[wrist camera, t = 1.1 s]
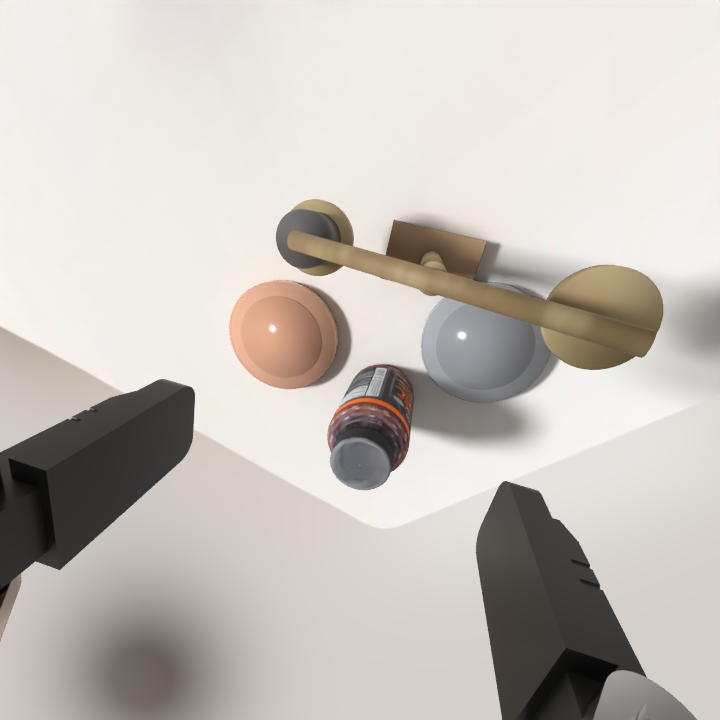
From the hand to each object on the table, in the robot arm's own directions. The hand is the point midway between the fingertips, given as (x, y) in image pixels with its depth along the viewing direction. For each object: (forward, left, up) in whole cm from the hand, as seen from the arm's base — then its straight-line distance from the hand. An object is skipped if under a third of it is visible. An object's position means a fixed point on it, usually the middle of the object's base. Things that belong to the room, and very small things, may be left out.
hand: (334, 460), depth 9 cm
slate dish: (+2, +8, -22) cm, 23 cm away
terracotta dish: (+6, -9, -22) cm, 25 cm away
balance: (-4, +2, -22) cm, 22 cm away
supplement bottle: (+9, +1, -22) cm, 24 cm away
